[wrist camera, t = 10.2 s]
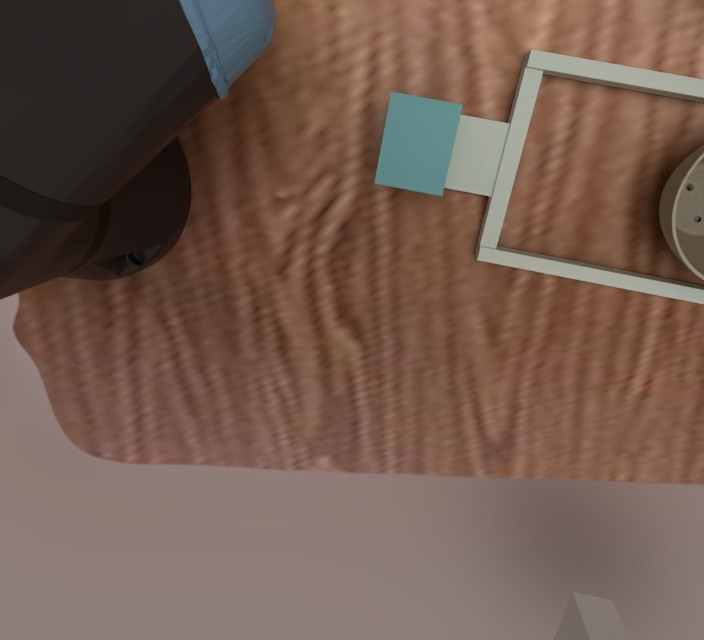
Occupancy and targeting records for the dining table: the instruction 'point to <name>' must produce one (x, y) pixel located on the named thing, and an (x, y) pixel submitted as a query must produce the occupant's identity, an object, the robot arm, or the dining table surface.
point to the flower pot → (685, 212)
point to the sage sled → (511, 159)
